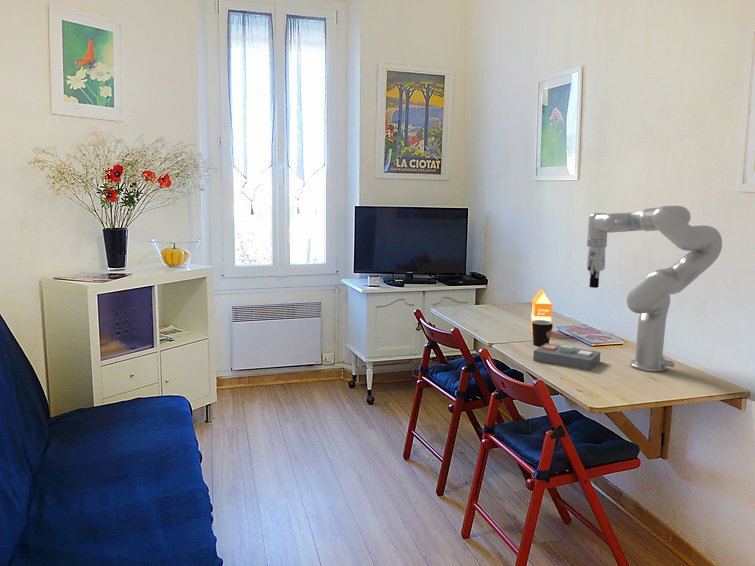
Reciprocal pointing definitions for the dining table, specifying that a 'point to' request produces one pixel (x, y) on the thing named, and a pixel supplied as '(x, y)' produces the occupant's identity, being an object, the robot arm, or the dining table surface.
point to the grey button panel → (567, 358)
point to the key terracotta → (549, 347)
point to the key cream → (585, 353)
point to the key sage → (567, 349)
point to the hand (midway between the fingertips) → (593, 287)
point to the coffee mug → (541, 332)
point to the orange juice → (541, 307)
